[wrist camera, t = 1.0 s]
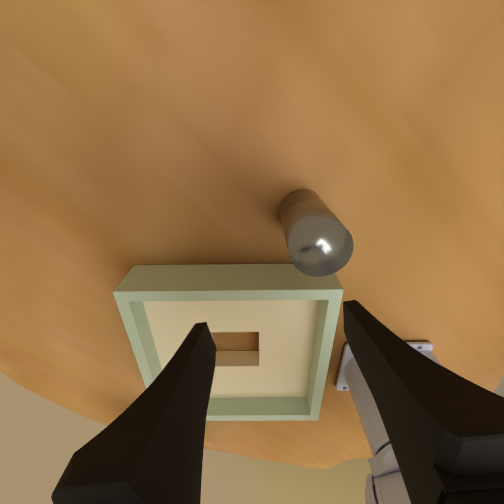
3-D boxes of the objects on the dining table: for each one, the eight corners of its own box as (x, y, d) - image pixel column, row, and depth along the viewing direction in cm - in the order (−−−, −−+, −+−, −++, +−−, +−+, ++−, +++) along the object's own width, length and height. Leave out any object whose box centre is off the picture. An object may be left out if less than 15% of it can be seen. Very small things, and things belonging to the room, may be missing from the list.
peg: (325, 188, 20) (358, 220, 13) (320, 230, 21) (347, 276, 15) (279, 189, 20) (292, 221, 13) (278, 231, 21) (288, 277, 15)
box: (329, 263, 23) (343, 289, 19) (310, 386, 31) (318, 420, 28) (134, 265, 23) (112, 291, 19) (168, 387, 31) (157, 420, 28)
